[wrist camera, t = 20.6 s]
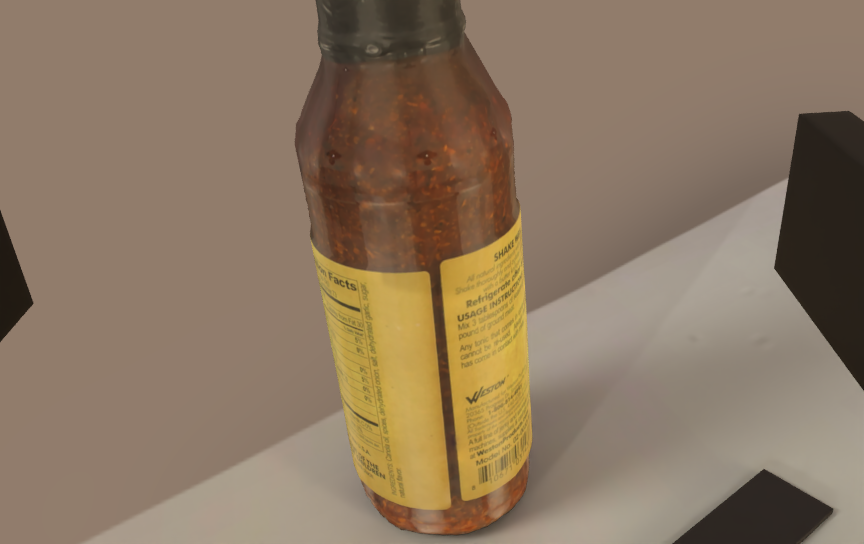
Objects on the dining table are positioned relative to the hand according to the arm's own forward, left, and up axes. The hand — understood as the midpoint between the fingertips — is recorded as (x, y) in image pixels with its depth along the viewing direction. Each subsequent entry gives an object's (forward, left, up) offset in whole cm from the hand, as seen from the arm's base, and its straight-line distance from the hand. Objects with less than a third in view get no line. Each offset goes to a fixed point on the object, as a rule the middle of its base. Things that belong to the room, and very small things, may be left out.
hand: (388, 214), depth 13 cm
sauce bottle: (-6, -7, -15) cm, 18 cm away
